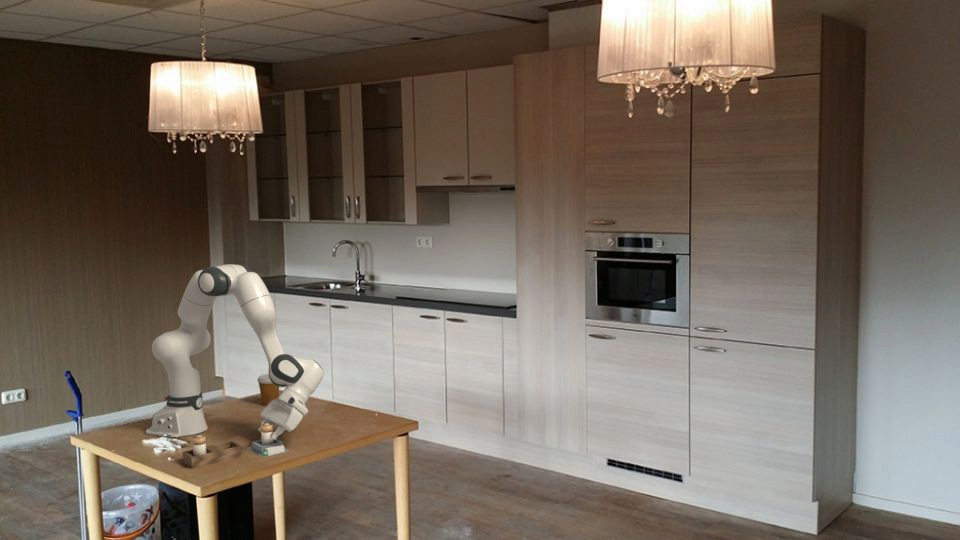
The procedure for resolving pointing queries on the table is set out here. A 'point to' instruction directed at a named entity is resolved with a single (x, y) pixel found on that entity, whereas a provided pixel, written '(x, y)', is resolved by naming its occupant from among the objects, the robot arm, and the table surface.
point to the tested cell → (266, 434)
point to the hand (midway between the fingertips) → (266, 435)
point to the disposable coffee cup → (267, 389)
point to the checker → (268, 448)
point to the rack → (214, 454)
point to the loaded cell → (199, 445)
